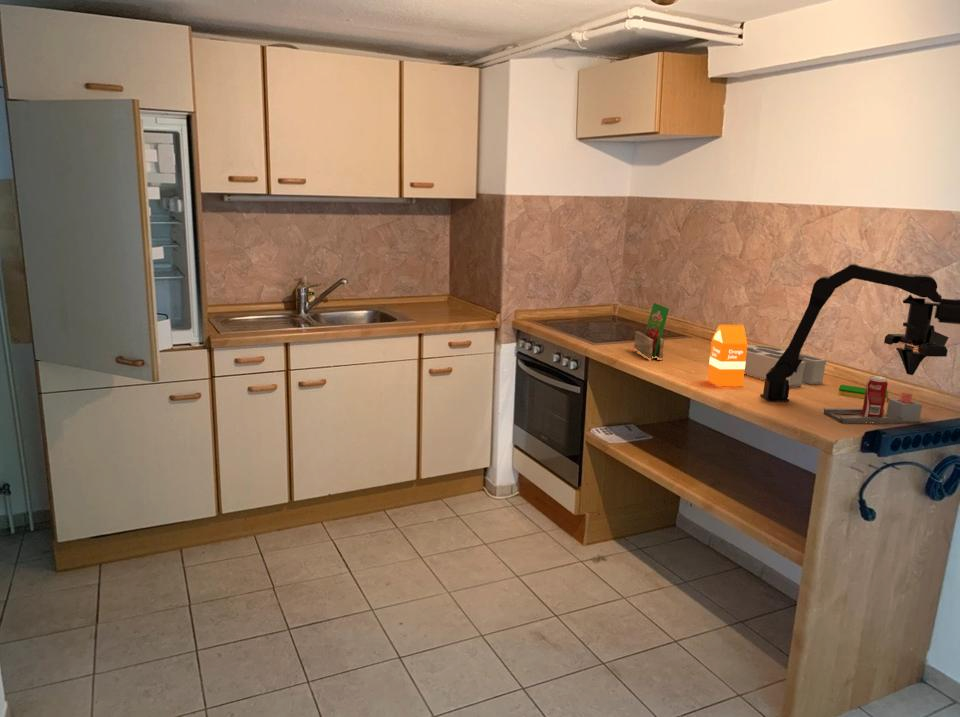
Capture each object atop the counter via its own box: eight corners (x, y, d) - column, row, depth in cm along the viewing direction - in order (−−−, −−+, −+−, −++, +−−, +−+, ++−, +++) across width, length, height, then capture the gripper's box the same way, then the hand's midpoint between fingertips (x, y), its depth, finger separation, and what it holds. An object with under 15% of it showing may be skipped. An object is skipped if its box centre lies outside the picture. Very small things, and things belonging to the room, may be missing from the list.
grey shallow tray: (842, 423, 206) (843, 418, 206) (823, 413, 216) (824, 408, 215) (902, 423, 209) (903, 418, 208) (880, 413, 218) (881, 408, 217)
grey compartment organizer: (789, 389, 243) (793, 363, 242) (725, 370, 267) (728, 346, 266) (823, 384, 251) (827, 359, 249) (758, 366, 275) (760, 343, 273)
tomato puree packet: (638, 351, 293) (652, 302, 289) (640, 351, 293) (655, 302, 289) (652, 360, 278) (668, 308, 274) (655, 360, 278) (670, 309, 274)
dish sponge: (886, 403, 231) (887, 395, 230) (837, 396, 238) (838, 388, 237) (887, 398, 237) (888, 391, 236) (839, 391, 244) (840, 384, 243)
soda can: (863, 414, 216) (870, 374, 213) (883, 418, 213) (890, 377, 210) (859, 418, 212) (865, 377, 210) (879, 422, 209) (886, 381, 206)
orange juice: (742, 387, 243) (750, 327, 239) (717, 387, 242) (724, 326, 237) (731, 381, 251) (737, 322, 246) (706, 381, 249) (713, 322, 245)
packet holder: (648, 360, 277) (650, 339, 275) (633, 351, 293) (635, 331, 291) (662, 360, 277) (664, 340, 276) (647, 351, 294) (648, 331, 292)
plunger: (902, 412, 212) (905, 395, 210) (896, 409, 214) (898, 392, 213) (911, 412, 212) (914, 395, 211) (904, 409, 215) (907, 392, 214)
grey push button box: (899, 421, 210) (902, 404, 209) (886, 415, 216) (888, 398, 215) (919, 421, 211) (922, 404, 210) (905, 415, 217) (907, 398, 216)
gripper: (970, 326, 199) (960, 383, 203) (922, 315, 217) (913, 367, 221) (932, 326, 198) (922, 382, 201) (887, 314, 216) (879, 366, 219)
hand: (909, 374), depth 211 cm, fingers closed
